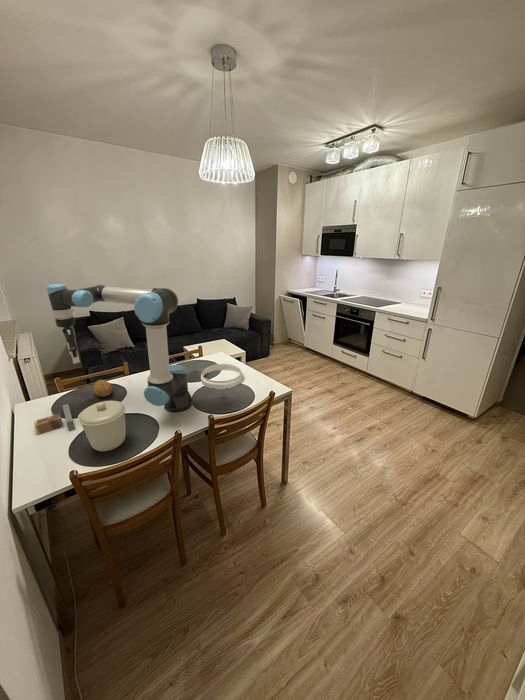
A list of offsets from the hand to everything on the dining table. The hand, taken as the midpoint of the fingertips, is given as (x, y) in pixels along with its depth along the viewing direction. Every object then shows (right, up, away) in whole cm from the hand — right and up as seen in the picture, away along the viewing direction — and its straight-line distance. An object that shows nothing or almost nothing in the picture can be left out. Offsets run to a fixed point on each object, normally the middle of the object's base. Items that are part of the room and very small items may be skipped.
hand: (74, 358), depth 142 cm
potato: (+2, -22, +22) cm, 32 cm away
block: (-3, -30, -5) cm, 31 cm away
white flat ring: (+68, -15, +43) cm, 82 cm away
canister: (+26, -38, -16) cm, 49 cm away
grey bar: (-2, -31, -1) cm, 31 cm away
